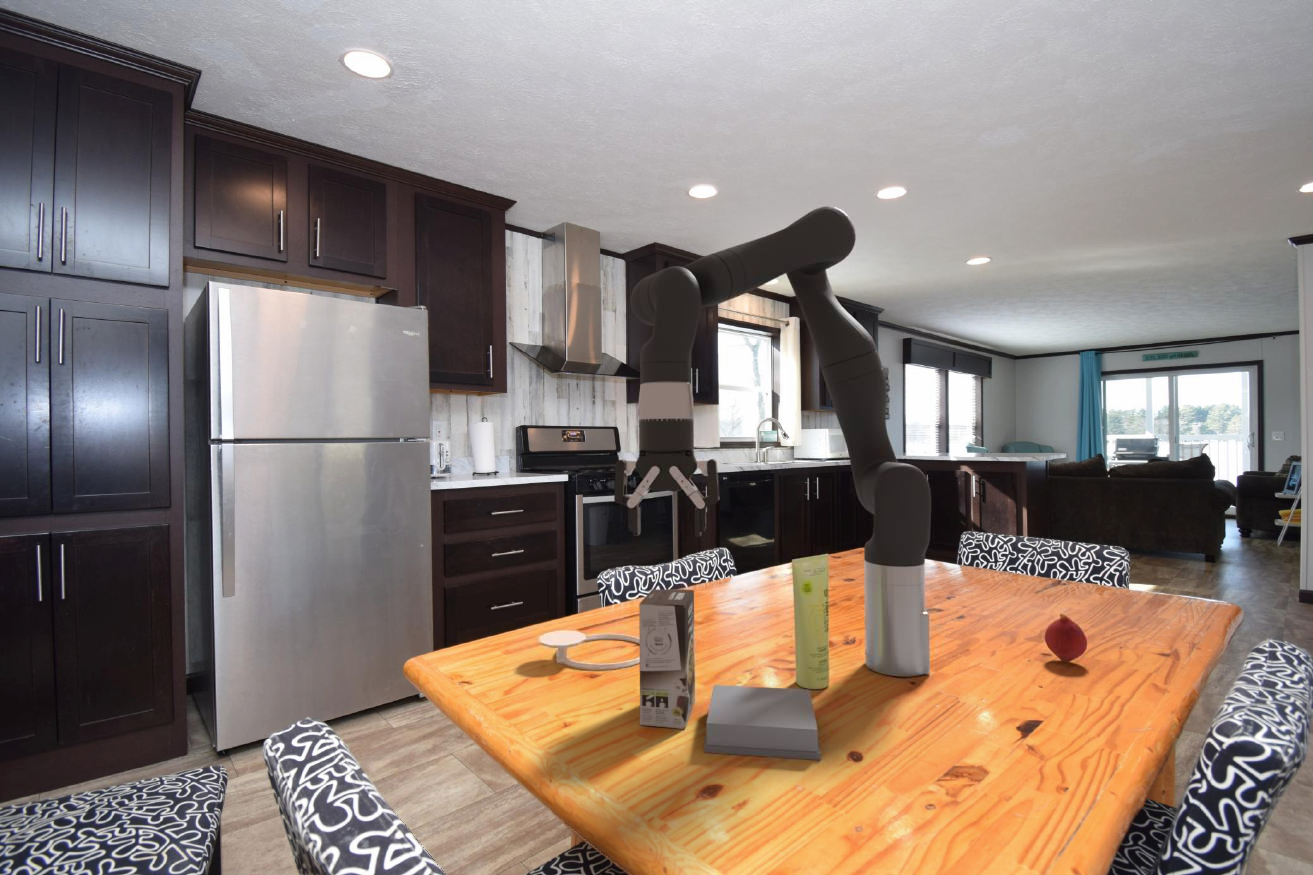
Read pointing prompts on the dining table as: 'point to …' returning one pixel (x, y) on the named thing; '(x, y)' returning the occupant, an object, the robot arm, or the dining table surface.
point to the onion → (1065, 639)
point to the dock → (762, 722)
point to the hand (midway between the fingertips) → (667, 535)
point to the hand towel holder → (575, 638)
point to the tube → (811, 620)
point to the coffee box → (667, 658)
